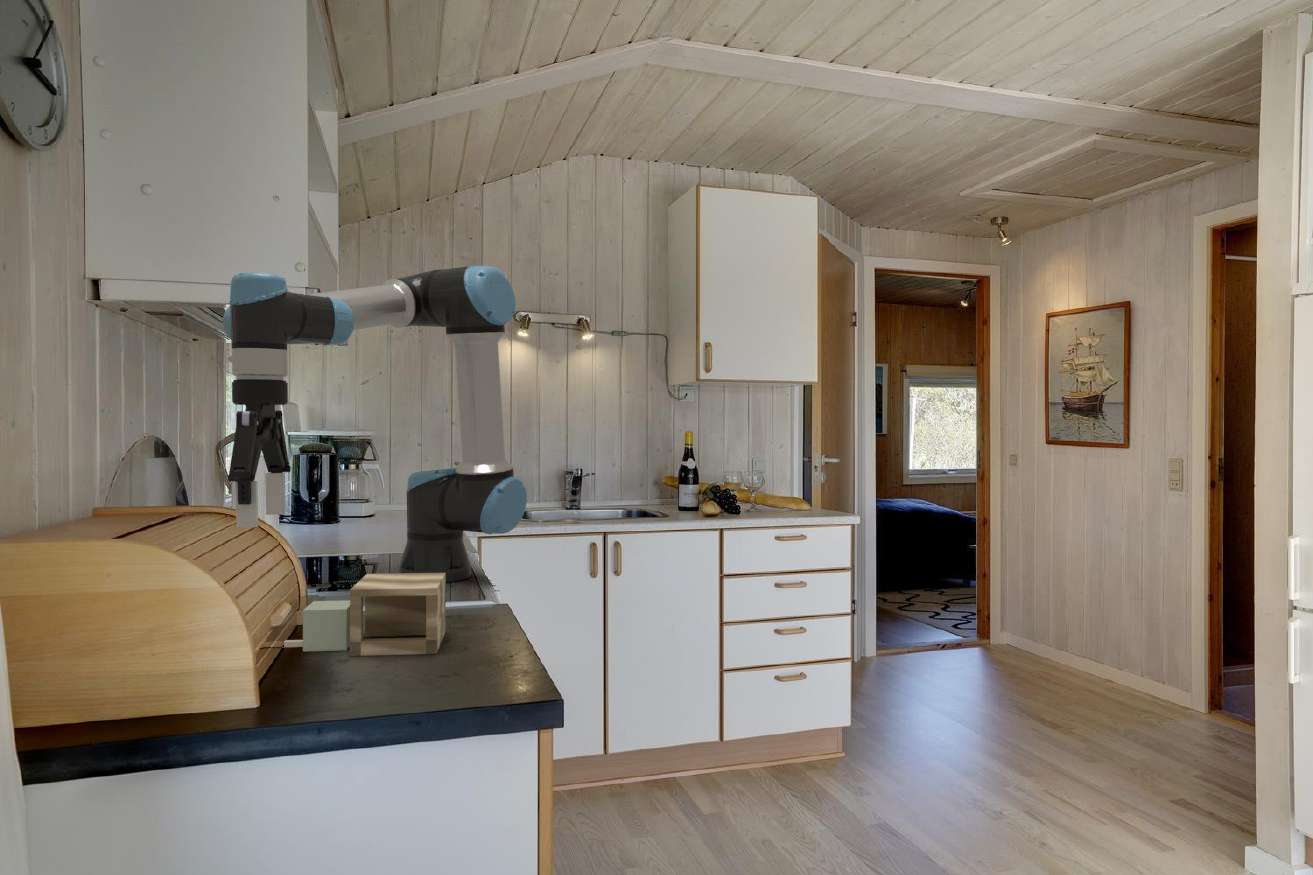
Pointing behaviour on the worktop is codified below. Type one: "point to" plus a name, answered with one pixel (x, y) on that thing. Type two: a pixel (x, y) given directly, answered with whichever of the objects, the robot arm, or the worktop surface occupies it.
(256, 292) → the robot arm
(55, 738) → the worktop surface
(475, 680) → the worktop surface
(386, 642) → the open wooden box
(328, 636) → the block with rod
